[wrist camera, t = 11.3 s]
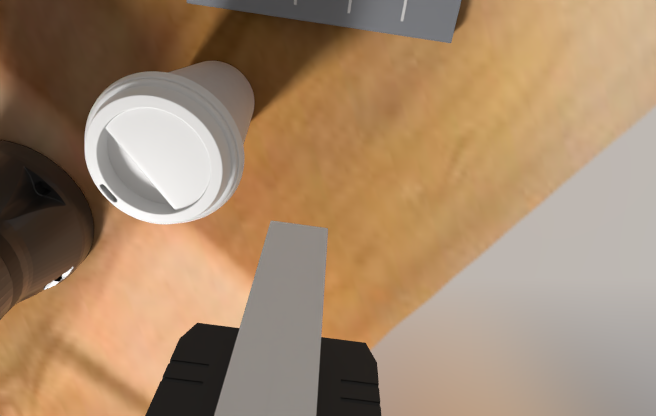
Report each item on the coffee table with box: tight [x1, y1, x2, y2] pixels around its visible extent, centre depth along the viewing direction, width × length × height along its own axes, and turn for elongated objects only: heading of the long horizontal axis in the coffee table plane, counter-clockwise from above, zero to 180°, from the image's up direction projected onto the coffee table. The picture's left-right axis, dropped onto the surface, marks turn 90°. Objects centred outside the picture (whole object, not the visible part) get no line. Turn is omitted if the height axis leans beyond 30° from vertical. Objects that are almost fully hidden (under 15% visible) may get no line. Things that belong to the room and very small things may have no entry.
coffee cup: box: [84, 61, 255, 224], centre depth 34 cm, size 10×10×15 cm
